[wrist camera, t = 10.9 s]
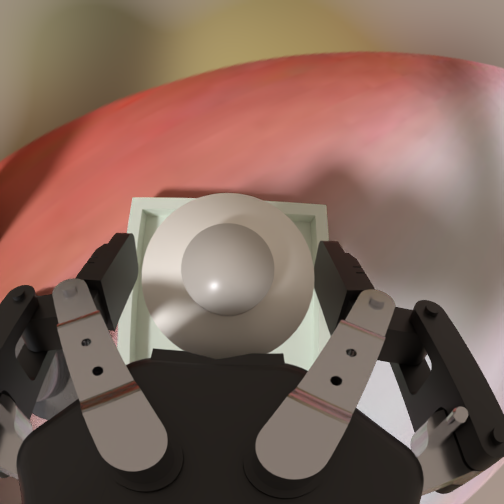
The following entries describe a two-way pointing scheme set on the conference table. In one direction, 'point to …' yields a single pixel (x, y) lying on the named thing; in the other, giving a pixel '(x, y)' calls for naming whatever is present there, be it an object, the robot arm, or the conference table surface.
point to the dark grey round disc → (53, 386)
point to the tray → (149, 335)
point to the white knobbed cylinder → (227, 276)
